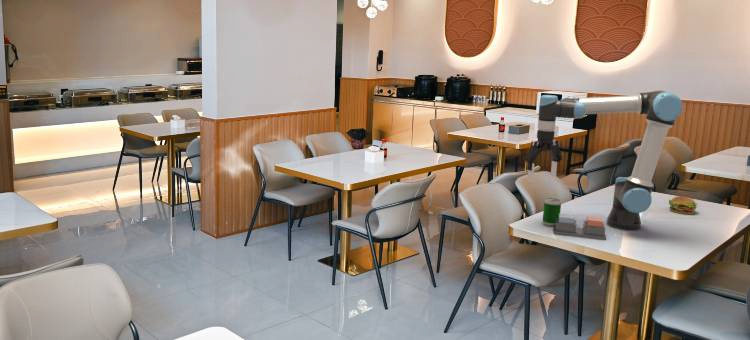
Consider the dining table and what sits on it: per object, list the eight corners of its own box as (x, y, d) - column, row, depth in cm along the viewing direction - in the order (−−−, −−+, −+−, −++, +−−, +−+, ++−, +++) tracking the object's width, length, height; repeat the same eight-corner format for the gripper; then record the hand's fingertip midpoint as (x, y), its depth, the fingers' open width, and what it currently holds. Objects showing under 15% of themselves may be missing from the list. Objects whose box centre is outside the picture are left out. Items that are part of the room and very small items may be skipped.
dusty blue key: (573, 221, 298) (573, 215, 298) (573, 225, 292) (574, 218, 292) (558, 219, 300) (559, 213, 299) (558, 223, 294) (559, 216, 293)
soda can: (559, 227, 304) (562, 202, 302) (542, 226, 305) (545, 200, 303) (558, 223, 311) (560, 198, 309) (541, 221, 313) (544, 197, 310)
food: (698, 211, 349) (700, 196, 348) (694, 216, 338) (696, 201, 336) (669, 206, 356) (671, 192, 355) (665, 211, 345) (667, 196, 343)
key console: (604, 233, 298) (605, 222, 297) (605, 240, 287) (607, 229, 286) (553, 227, 303) (554, 217, 302) (553, 234, 293) (554, 223, 292)
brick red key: (601, 224, 295) (602, 218, 295) (602, 228, 289) (603, 221, 289) (586, 223, 297) (587, 216, 296) (586, 226, 291) (587, 220, 290)
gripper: (560, 128, 306) (556, 173, 310) (518, 129, 294) (515, 176, 298) (572, 130, 300) (568, 176, 304) (530, 132, 288) (526, 180, 292)
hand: (542, 176), depth 301 cm, fingers open, 13 cm apart
